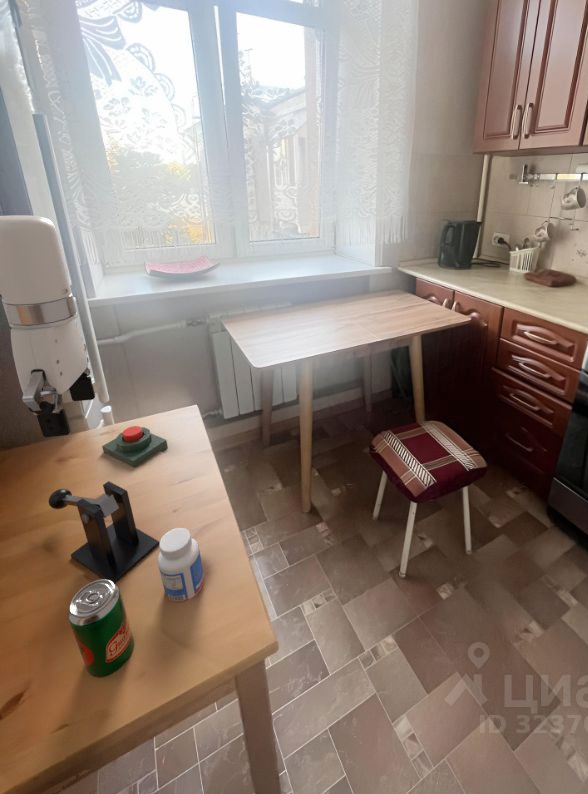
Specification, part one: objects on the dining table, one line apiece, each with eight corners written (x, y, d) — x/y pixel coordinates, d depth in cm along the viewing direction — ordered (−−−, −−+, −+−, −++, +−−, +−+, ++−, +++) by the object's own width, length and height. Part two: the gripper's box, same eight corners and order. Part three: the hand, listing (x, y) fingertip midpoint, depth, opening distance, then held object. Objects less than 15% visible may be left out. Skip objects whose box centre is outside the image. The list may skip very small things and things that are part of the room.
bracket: (72, 560, 62) (53, 502, 57) (120, 523, 68) (106, 469, 64) (113, 588, 58) (96, 528, 53) (160, 546, 64) (148, 490, 60)
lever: (49, 512, 66) (41, 496, 65) (70, 499, 69) (62, 484, 68) (103, 522, 58) (94, 504, 57) (123, 507, 60) (115, 490, 60)
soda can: (122, 687, 47) (100, 621, 42) (79, 685, 47) (54, 619, 42) (144, 640, 51) (127, 576, 47) (105, 639, 51) (85, 575, 47)
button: (120, 439, 84) (118, 432, 83) (135, 430, 87) (134, 424, 86) (131, 444, 82) (129, 437, 82) (146, 435, 85) (145, 428, 85)
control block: (103, 454, 85) (100, 439, 83) (137, 434, 91) (134, 420, 90) (135, 469, 81) (131, 453, 79) (168, 447, 87) (165, 432, 86)
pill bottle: (195, 563, 62) (187, 516, 58) (211, 587, 58) (203, 539, 55) (159, 586, 58) (148, 537, 55) (173, 613, 55) (162, 563, 51)
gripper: (41, 293, 61) (67, 390, 67) (-33, 334, 45) (11, 455, 51) (95, 292, 62) (116, 386, 69) (43, 331, 47) (76, 448, 53)
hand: (71, 416), depth 60 cm, fingers open, 9 cm apart
